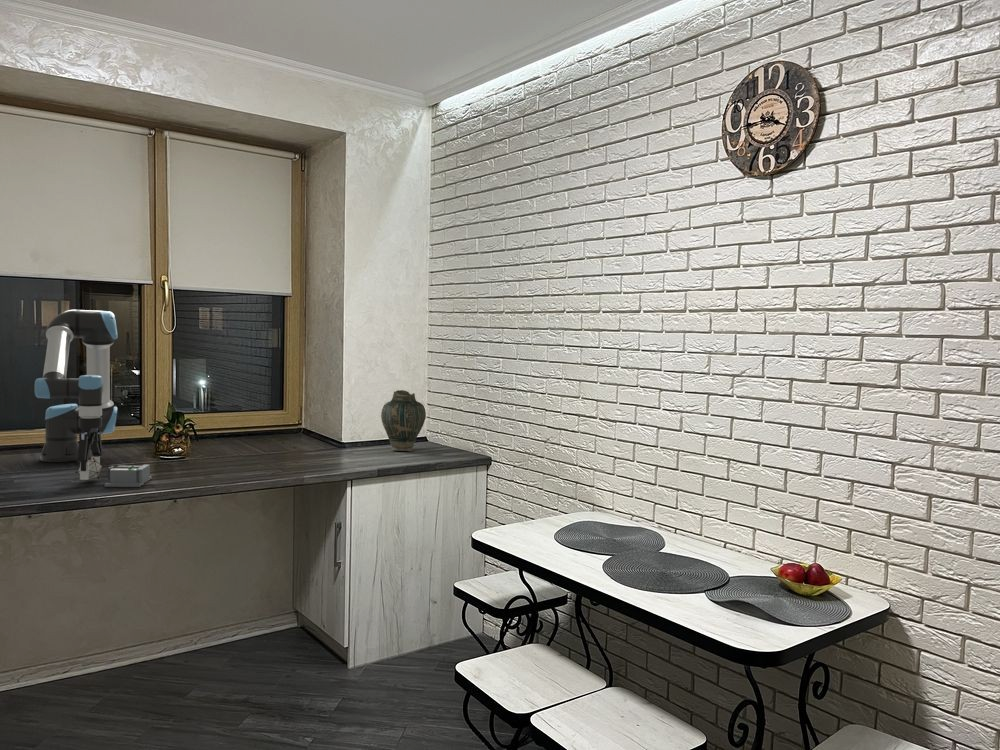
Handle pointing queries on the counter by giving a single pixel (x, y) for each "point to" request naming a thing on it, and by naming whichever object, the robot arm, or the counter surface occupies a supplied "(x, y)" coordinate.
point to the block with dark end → (115, 468)
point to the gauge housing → (129, 476)
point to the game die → (93, 469)
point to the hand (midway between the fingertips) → (90, 476)
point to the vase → (403, 420)
